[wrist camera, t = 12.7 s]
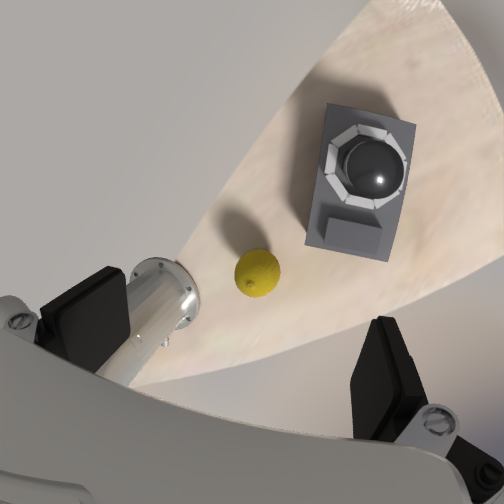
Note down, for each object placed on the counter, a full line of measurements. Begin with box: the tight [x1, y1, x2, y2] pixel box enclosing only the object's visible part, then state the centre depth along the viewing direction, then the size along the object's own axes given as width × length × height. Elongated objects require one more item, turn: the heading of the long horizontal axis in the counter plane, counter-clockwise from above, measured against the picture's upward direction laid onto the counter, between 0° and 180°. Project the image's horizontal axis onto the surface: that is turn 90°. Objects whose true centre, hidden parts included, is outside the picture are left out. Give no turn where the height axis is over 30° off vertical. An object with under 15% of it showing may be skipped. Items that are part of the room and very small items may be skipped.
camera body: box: [305, 103, 416, 262], centre depth 31 cm, size 16×10×6 cm, turn 173°
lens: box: [342, 140, 404, 199], centre depth 26 cm, size 5×5×7 cm
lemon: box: [235, 249, 280, 297], centre depth 37 cm, size 6×6×8 cm
